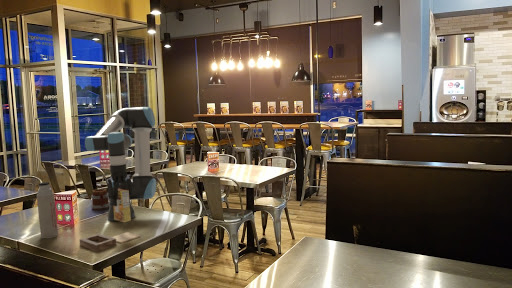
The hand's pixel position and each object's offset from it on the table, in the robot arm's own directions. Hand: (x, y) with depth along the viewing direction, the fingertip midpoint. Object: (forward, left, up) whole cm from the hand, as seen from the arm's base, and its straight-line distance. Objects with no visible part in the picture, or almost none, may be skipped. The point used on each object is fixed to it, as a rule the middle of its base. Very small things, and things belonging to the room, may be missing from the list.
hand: (121, 210), depth 207 cm
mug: (-27, -65, -14) cm, 72 cm away
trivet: (0, 0, -14) cm, 14 cm away
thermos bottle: (+19, -38, -14) cm, 45 cm away
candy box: (0, 0, -5) cm, 5 cm away
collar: (+13, -2, -14) cm, 19 cm away
